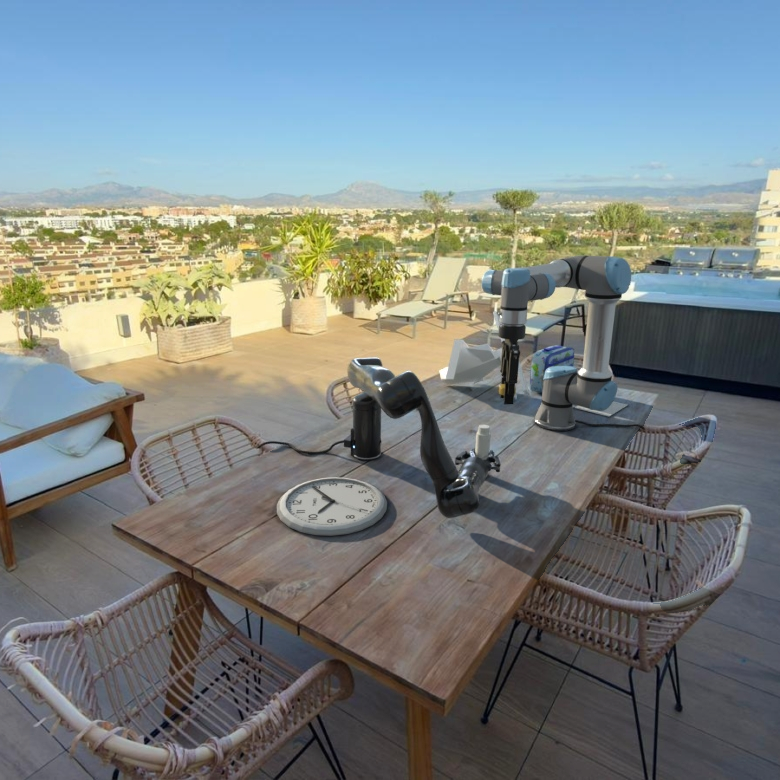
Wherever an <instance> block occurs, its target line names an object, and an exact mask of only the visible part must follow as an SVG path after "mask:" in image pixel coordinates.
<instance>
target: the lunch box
mask: <svg viewBox="0 0 780 780" xmlns="http://www.w3.org/2000/svg"><path fill="white" fill-rule="evenodd" d="M574 363H575V348H573V347H571V346H570V347H568V346H563V345H551V346H548V347H544V348H543V349H539V350H536V351H535V352H534V354H533V356H532V358H531V363H530V374H529V391H532V392H536V393H540V394H542V391H543V381H544V380H543V378H544V374H545V371H546V369H547V368H550V367H554V366H572V367H574Z"/></svg>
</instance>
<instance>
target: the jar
mask: <svg viewBox="0 0 780 780" xmlns="http://www.w3.org/2000/svg"><path fill="white" fill-rule="evenodd" d="M490 430H491V427H490V425H488V424H479V425H478V428H477V431H476V434H475V447H474V448H475V457H479V458H483V457H484V456H485V455H486V456H488V455H489V452H490V450H491V448H490V447H491V437H492V436H491V435H492V433H491V432H490ZM488 474H489V472H488V473H487V476H486V478H487V477H488Z"/></svg>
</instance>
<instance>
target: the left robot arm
mask: <svg viewBox="0 0 780 780" xmlns="http://www.w3.org/2000/svg"><path fill="white" fill-rule="evenodd" d="M346 371H347V378H348V381H349V383H350V384H351V386H352V387H354V388H357V389H359V390H361V391H362V392H361V393H359V394H357V395H355V396H354V397H353V399H352V428H350V434H349V435H348V436H347V437H345V438H344V439H343V440H338V441H336V442H333V443H332V444H331V445H330V446H329V448H327V449H325V450H320V451H308V450H302V449H298V448H297V447H296V446H294V445H293V444H291V443H290V442H285V441H277V440H276V441H275V440H269V441H264V442H262V443H260V444H259V445H258V446H256V449H260V448H262V447H263V446H266V445H272V444H274V445H282V446H283V445H284V446H289V447H290V448H292V449H293V451H295V452H297V453H299V454H300V453H301V454H305V455H318V454H319V455H320V454H325V453H328V452H331V450H332V449H333V448H334V447H335V446H337V445H339V444H340V445H341V444H343V447H344V448H347V449H350V456H351V457H354V459H357V460H361V461H374V460H376V459H378V458H380V457H381V456H382V412H384V413H385V415H386V416H387V417H388V418H390V419H393V420H397V419H400V418H403V417H405V416H406V415H408V414H410V413H411V412H413V411H416V409H417V408H418V410H417V411H418V414H419V416H420V417H419V418H420V423H421V431H420V446H419V455H420V459H421V462H422V465H423V467H424V469H425V471H426V473H427V475H428V477H429V479H430V480H431V484H432V486H433V491H434V494H435V499H436V504H437V510H438V511H439V513H440V515H442V516H443V517H444V518H446V519H454V518H457V517H461V516H466V515H470V514H473V513H475V512H476V511H477V510H479V508H480V499H479V491H480V489H481V487H482V486H483V484H484V483H485V481H486V478H487V477H488V475H487V473H488V474H489V472H491V470H494V471H495V472H496V473H500V472H501V465H502V464H501V461H500V458H499V456H498V455H495V451H494V450H493V449H490V450H489V455H488V456H486V455H485V456H484V457H483V458H479V457H475V448H476V447H474V448H471V450H470V451H469V452H468V450H463V451H462V452H460V453H459V454H457V455H456V456H455V457H454V458H455V459H454V460H453V458H452V456H451V454H450V452H449V450H448V448H447V446H446V443H445V441H444V439H443V437H442V434H441V431H440V427H439V424H438V421H437V418H436V416H435V413H434V410H433V408H432V405H431V402H430V398H429V396H428V394H427V392H426V389H425V387H424V385H423V383H422V382H421V380H420V378H419V377H418V376H417V375H416V374H415V373H414V372H413V371H411V370H406V371H403V372H402V373H400V374H398V375H397V376H396V375H395V374H394V372H393V371H392V370H390V369H389V368H386V367H385V366H383V361H382V360H381V358H379V357H357V358H353V359H351V360H350V361H349V363H348V365H347V370H346ZM428 398H429V399H428ZM492 463H493V464H492ZM459 465H461V466H460V468H459V469H458V468H457V466H459ZM486 476H487V477H486ZM449 486H451V489H449V488H448V487H449Z"/></svg>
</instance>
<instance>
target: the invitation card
mask: <svg viewBox="0 0 780 780" xmlns="http://www.w3.org/2000/svg"><path fill="white" fill-rule="evenodd" d="M628 406H629V404H627V403H623V402H618V401H614V400H613V402H612V404H611V405H610V406H609V407H608V408H607V409H606V410H604V411H597V410H590V409H588V408H585V407H582V406H578V405H575V406H574V407H573V409H575V410H581V411H584V412H587V413H593V414H596V415H600V416H604V417H608V418H609V417H611V416H613V415H614V414H616V413H617V412H619V411H621V410H623V409H624V408H626V407H628Z"/></svg>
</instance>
